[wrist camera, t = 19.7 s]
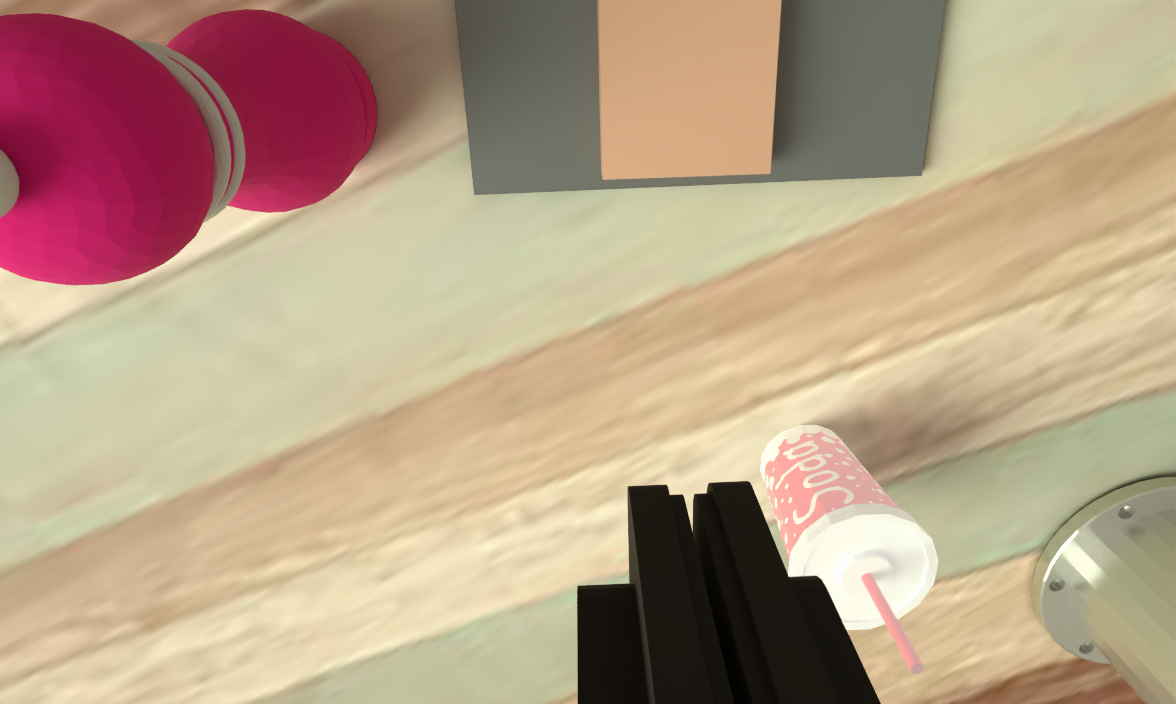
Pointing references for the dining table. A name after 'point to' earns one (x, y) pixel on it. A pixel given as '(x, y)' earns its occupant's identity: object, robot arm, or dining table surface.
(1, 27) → the pepper mill
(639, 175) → the tile
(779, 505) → the beverage cup
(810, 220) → the dining table surface
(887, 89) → the mat
